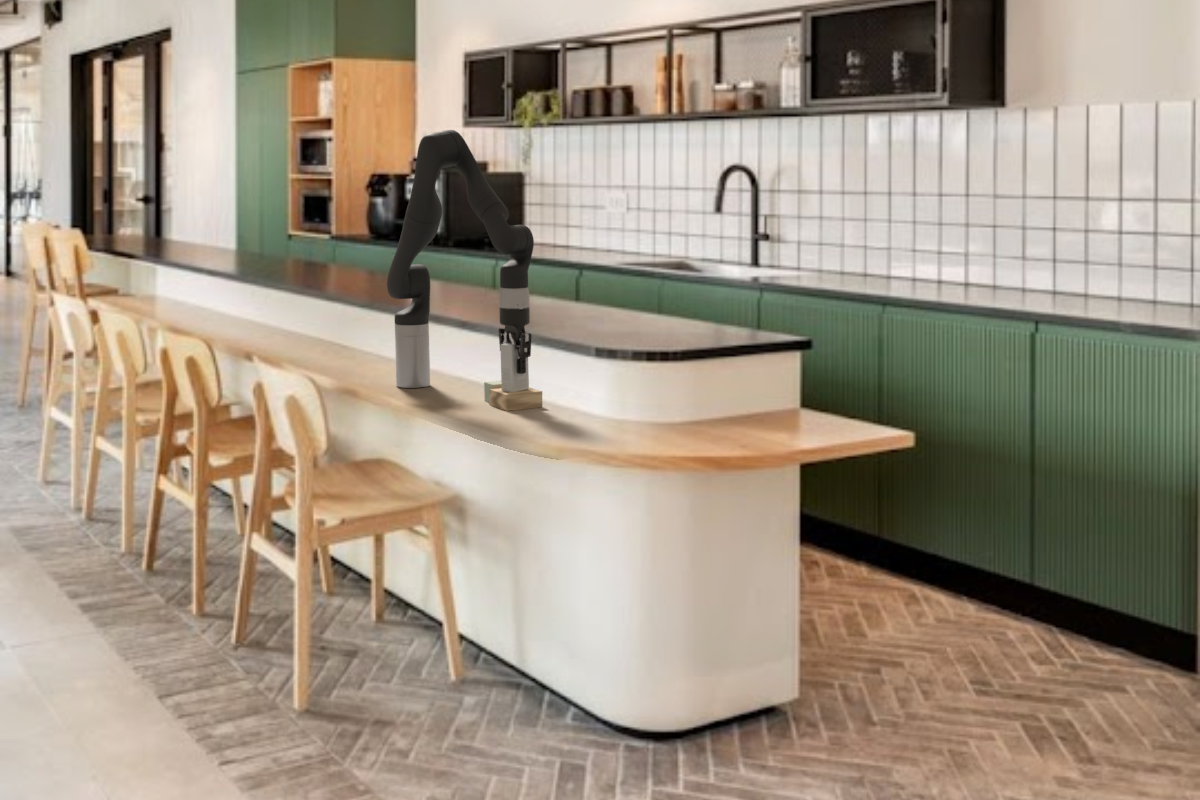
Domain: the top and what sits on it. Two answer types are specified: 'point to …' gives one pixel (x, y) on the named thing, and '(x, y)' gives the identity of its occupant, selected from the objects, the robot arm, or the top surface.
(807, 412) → the top surface
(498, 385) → the sage cube
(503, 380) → the skincare box
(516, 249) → the robot arm
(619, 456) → the top surface
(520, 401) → the block
